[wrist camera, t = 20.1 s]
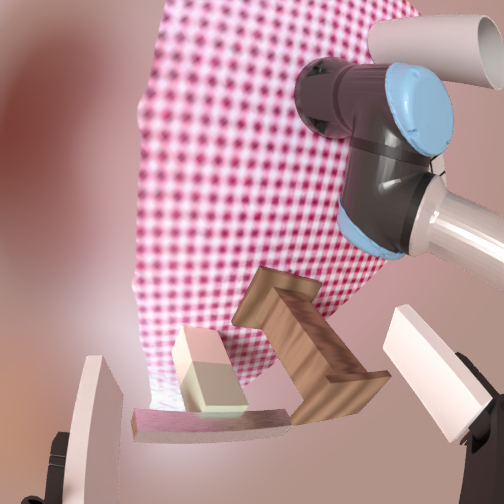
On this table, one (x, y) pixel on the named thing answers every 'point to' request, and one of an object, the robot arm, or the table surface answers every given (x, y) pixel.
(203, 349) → the tower lower
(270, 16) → the table surface
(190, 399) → the tower upper
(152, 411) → the steel bar
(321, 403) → the walnut stand
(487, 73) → the cylinder vase
